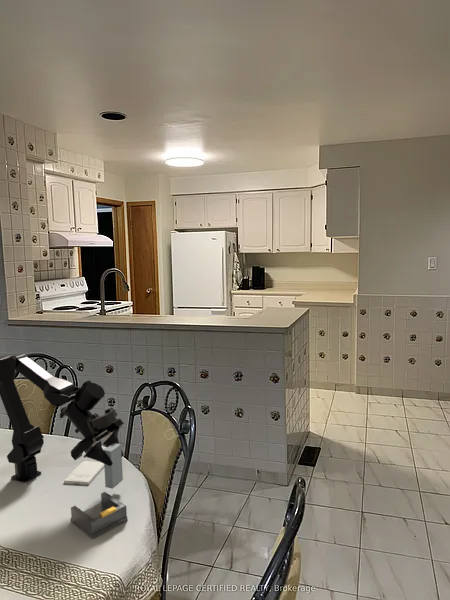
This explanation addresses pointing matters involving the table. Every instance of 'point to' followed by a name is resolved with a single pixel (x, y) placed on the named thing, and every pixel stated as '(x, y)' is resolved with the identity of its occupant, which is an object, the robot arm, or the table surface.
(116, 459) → the block
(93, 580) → the table surface
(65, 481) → the external hard drive
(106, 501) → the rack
